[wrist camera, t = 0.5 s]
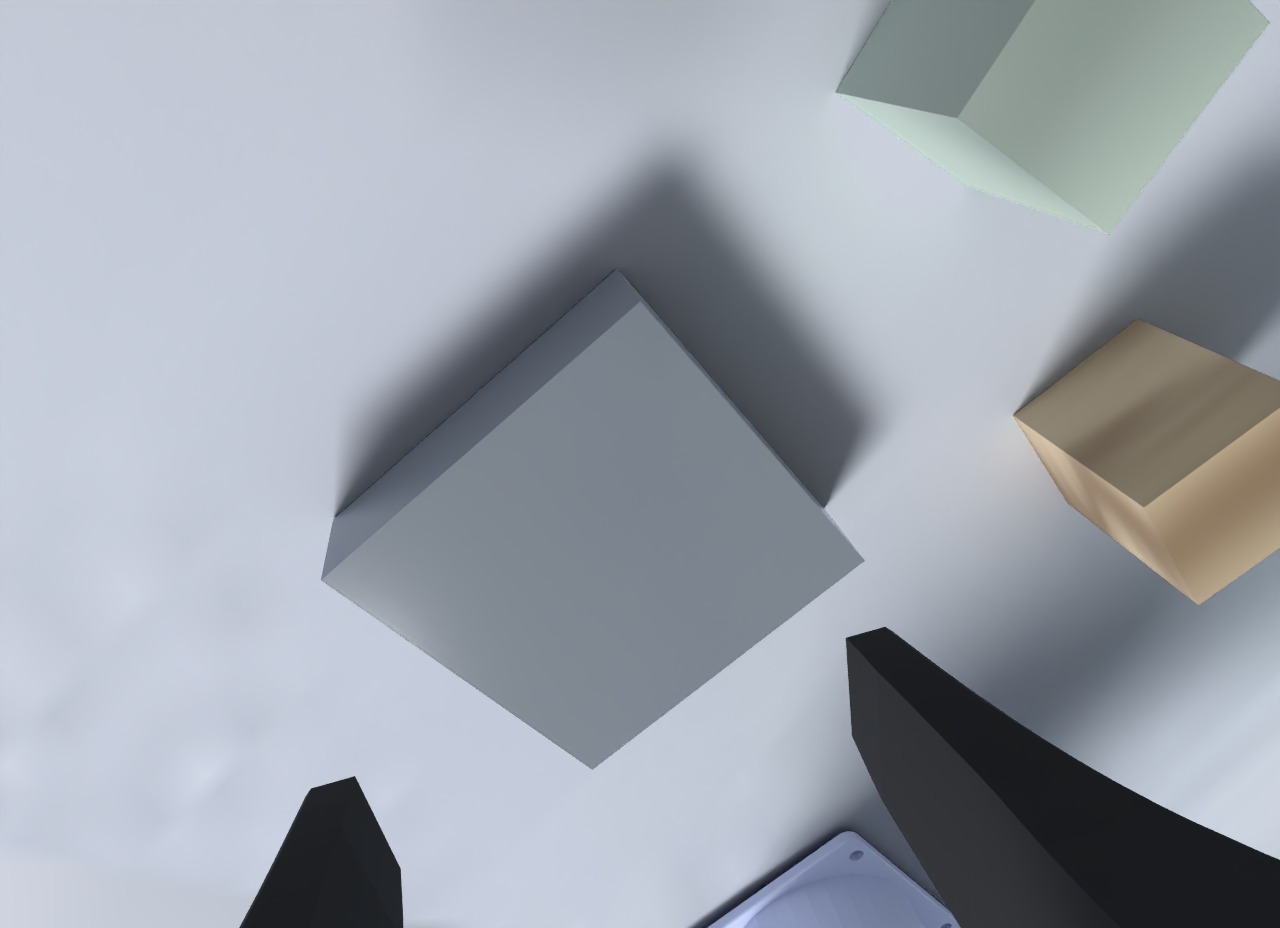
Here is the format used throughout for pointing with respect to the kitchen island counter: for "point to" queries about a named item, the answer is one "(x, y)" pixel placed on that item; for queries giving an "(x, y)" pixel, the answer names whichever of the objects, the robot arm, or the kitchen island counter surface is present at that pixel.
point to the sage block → (1050, 91)
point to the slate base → (589, 531)
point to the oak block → (1167, 454)
